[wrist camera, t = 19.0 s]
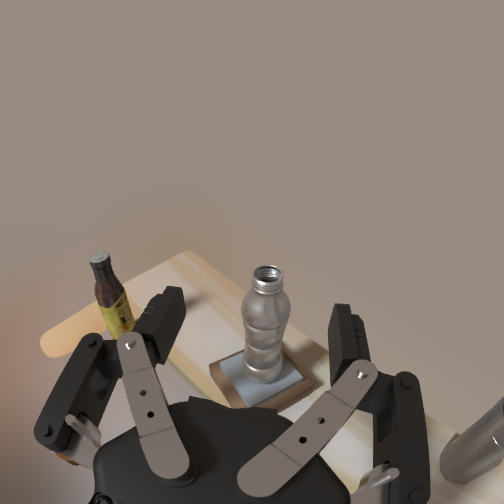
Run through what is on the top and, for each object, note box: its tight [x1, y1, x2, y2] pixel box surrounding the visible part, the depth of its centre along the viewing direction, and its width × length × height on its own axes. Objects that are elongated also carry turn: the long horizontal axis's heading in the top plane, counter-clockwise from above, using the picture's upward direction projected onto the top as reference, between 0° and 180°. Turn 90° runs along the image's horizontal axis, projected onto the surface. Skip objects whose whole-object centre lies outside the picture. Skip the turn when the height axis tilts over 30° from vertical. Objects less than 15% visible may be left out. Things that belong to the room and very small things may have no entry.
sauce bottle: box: [89, 252, 136, 340], centre depth 49 cm, size 6×6×20 cm
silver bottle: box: [241, 265, 291, 384], centre depth 37 cm, size 6×7×20 cm
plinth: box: [209, 350, 314, 414], centre depth 44 cm, size 13×13×5 cm
